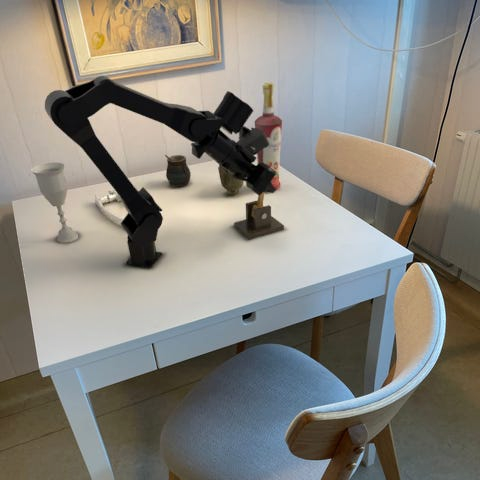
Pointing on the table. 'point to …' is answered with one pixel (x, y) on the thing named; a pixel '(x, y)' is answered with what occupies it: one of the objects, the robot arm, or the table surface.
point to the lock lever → (258, 202)
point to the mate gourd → (177, 171)
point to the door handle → (112, 196)
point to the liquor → (270, 134)
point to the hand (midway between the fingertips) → (268, 187)
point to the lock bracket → (258, 222)
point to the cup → (230, 182)
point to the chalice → (55, 194)
